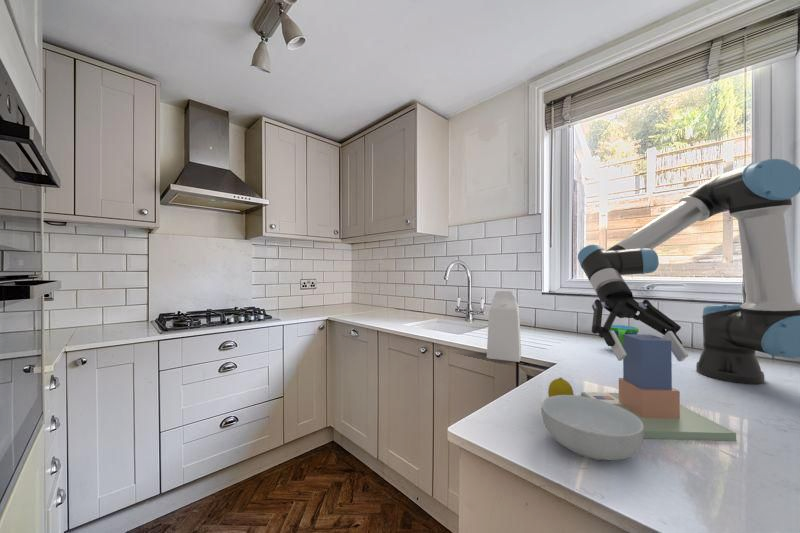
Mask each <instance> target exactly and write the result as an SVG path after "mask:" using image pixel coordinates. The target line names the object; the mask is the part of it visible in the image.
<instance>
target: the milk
mask: <svg viewBox="0 0 800 533" xmlns="http://www.w3.org/2000/svg"><path fill="white" fill-rule="evenodd" d="M491 301H492V302H491V303H490V306H489V310H488V320H487V321H488V324H487V326H488V328H487V346H486V347H487V348H486V359H490V360H491V359H492V360H499V361H507V362H517V363H520V362H521V357H522V343H521V320H520V307H519V304H518V302H517V299H516V296H515V295H514V292H513V290H496V291H495V293H494V295H493V298H492V300H491Z"/></svg>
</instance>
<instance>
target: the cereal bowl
mask: <svg viewBox="0 0 800 533" xmlns="http://www.w3.org/2000/svg"><path fill="white" fill-rule="evenodd" d="M540 410H541V419H542V422H543V426H544V427H545V428H546V431H547V432H548V434H550V436H551V437H552V439H554V440H555V441H556V442H558V443H559V444H560V445H562V446H563V447H565V448H567V449H569V450H571V451H572V452H574V453H575V454H577V455H579V456H580V457H584V458H587V459H591V460H596V461H618V460H619V461H620V460H624V459H628V458H631V457H633V456H634V455H635V454H636V453H637V452H639V451H640V449H641V447H642V445H643V442H644V438H643V435H644V426H643V423H642V421H641V420H640V419H639V418H638V417H637V416H635V415H634V414H632V413H631V412H629V411H627V410H625V409H623V408H621V407H619V406H616V405H614V404H611V403H608V402H605V401H601V400H598V399H593V398H589V397H583V396H581V395H575V394H574V395H556V396H551V397H549V396H548V397H547V398H545V399H544V400H543V401H542V402H541V408H540Z"/></svg>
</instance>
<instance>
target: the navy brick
mask: <svg viewBox="0 0 800 533" xmlns="http://www.w3.org/2000/svg"><path fill="white" fill-rule="evenodd" d="M623 348H624V350H625V352H626V354H627V355H626V356H625V357H624V358H623V359H622V362H623V365H622V369H623V370H622V371H623V372H622V373H623V374H622V375H623V377H622V378H623V379H624V380H626V381H628V382H630V383H632V384H634V385H636V386H637V387H639V388H641V389H666V390H672V388H673V387H672V386H673V383H672V382H673V378H672V375H673V374H672V373H673V372H672V371H673V369H672V368H673V367H672V366H673V364H672V361H673V360H672V351H671V340H668V339H664V338H663V337H660V336H657V335H653V334H642V333H641V334H638V333H637V334H623Z"/></svg>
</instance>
